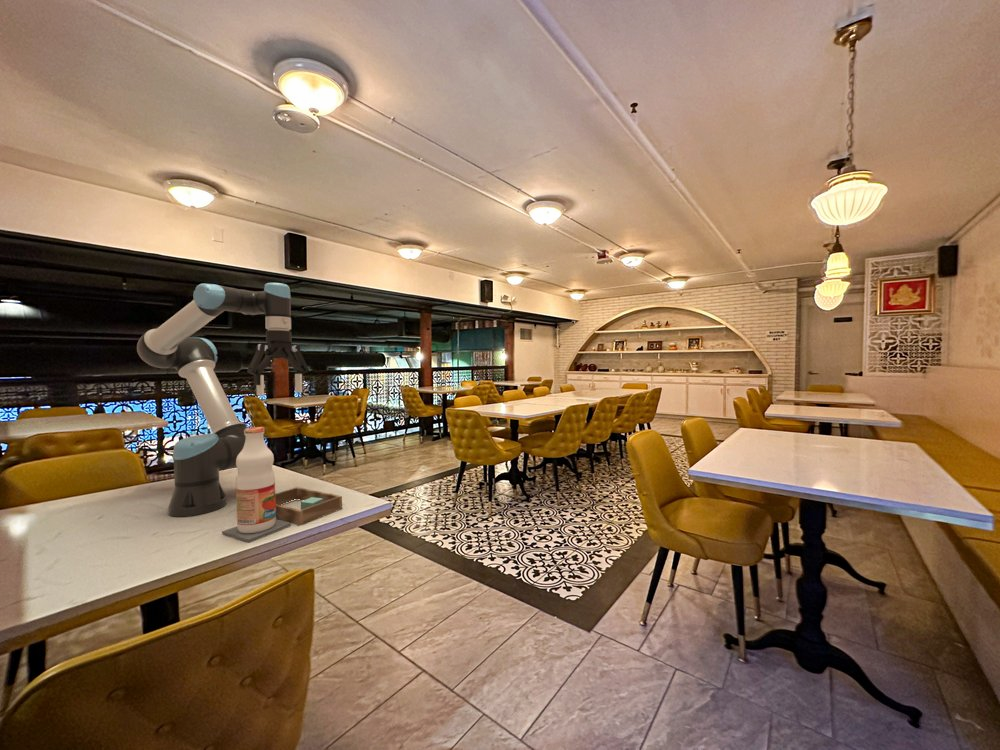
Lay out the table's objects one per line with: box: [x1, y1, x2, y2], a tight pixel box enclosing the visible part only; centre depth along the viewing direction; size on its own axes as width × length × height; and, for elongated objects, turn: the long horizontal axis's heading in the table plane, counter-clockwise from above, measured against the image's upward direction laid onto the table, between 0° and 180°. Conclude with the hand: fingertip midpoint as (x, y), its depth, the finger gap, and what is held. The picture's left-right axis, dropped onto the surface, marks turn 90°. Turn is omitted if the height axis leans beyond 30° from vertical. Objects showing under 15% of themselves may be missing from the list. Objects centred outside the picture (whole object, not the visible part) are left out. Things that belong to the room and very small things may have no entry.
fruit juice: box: [235, 426, 276, 533], centre depth 113 cm, size 9×9×28 cm
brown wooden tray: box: [275, 486, 343, 526], centre depth 128 cm, size 22×15×4 cm
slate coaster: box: [222, 519, 292, 543], centre depth 113 cm, size 12×12×1 cm
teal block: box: [300, 497, 323, 510], centre depth 125 cm, size 4×4×4 cm
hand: (280, 393), depth 135 cm, fingers open, 13 cm apart
